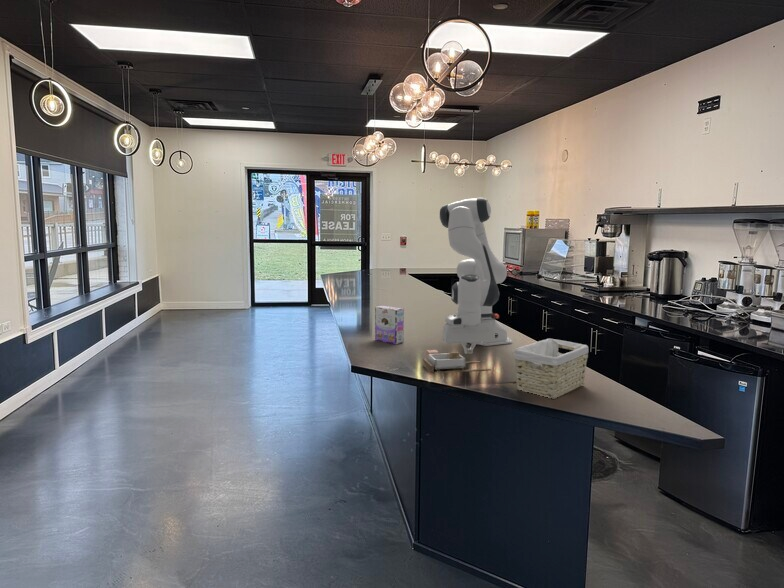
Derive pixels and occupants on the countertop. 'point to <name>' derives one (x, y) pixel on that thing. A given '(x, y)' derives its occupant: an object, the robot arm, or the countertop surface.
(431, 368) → the track
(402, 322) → the candy box
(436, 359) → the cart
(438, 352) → the block
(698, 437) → the countertop surface
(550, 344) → the storage basket
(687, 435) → the countertop surface
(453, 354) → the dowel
